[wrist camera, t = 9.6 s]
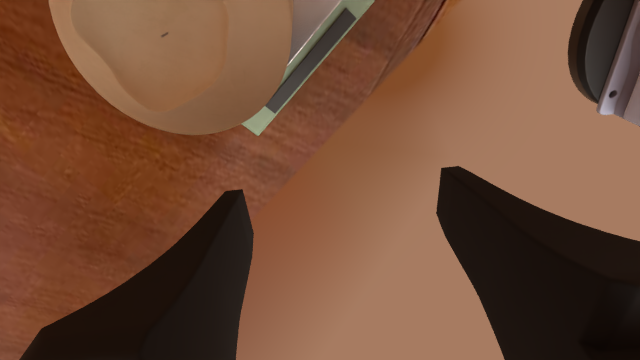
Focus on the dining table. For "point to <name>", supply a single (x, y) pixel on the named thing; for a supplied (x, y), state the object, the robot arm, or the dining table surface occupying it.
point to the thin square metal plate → (308, 21)
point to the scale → (309, 59)
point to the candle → (179, 57)
